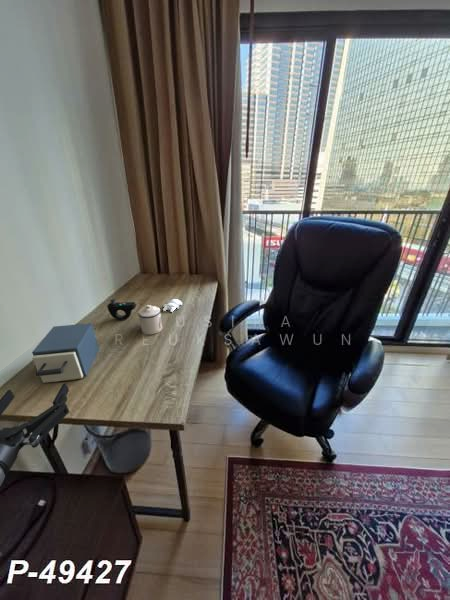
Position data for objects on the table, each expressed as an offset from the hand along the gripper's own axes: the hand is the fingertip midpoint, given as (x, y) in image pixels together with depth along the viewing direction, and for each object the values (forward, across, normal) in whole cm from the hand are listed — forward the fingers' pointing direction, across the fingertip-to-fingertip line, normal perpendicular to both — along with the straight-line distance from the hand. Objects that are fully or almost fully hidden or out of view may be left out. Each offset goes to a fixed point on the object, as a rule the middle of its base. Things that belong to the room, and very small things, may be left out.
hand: (39, 390), depth 68 cm
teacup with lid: (+40, +25, -8) cm, 47 cm away
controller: (+50, +11, -8) cm, 51 cm away
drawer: (+15, 0, -7) cm, 16 cm away
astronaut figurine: (+58, +33, -8) cm, 67 cm away
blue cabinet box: (+20, 0, -8) cm, 21 cm away
